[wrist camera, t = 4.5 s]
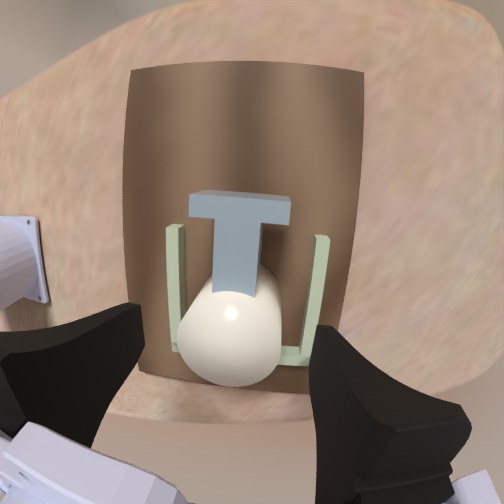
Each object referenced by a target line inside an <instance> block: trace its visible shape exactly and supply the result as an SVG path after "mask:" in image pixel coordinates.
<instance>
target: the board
mask: <svg viewBox="0 0 504 504" xmlns="http://www.w3.org/2000/svg"><path fill="white" fill-rule="evenodd" d="M363 123H364V73H363V72H358V71H352V70H346V69H340V68H333V67H326V66H318V65H309V64H298V63H285V62H267V61H215V62H196V63H183V64H173V65H164V66H156V67H149V68H142V69H136V70H131V75H130V82H129V90H128V99H127V109H126V120H125V134H124V151H123V236H124V254H125V268H126V280H127V290H128V299H129V303H135V304H141V312H142V321H143V330H144V338H145V347H144V349H143V351H142V354H141V356H140V358H139V360H138V366H139V371H142V372H146V373H151V374H155V375H160V376H165V377H170V378H175V379H181V380H186V381H192V382H198V383H204V384H211V385H218V384H215V383H212V382H209V381H207V380H205V379H203V378H202V377H200V376H199V375H197V374H196V373H195V372H193V371H192V370H191V369H190V368H189V367H188V365H187V364H186V363H185V362H184V360H183V358H182V357H181V354H180V353H179V352H173V351H172V345H171V333H170V321H169V306H168V288H167V264H166V227H168V226H170V225H172V224H182V225H185V230H184V253H185V302H186V312H187V311H188V309H189V308H190V306H191V305H192V303H193V302H194V300H195V299H196V297H197V295H198V294H199V292H200V291H201V289H202V288H203V286H204V285H205V283H206V282H207V280H208V278H209V277H210V275H211V274H212V273H213V247H214V225H215V219H212V218H199V217H189V194H192V193H196V192H199V191H203V190H219V191H234V192H247V193H260V194H271V195H282V196H289V198H290V200H291V209H290V219H289V225H280V224H270V223H264V224H263V236H262V248H261V260H260V264H261V265H263V266H265V267H266V268H267V269H269V270H270V271H271V272H272V273H273V275H274V276H275V277H276V279H277V280H278V282H279V285H280V288H281V294H282V331H281V346H293V347H299V344H300V338H301V331H302V325H303V318H304V312H305V305H306V298H307V290H308V283H309V275H310V267H311V259H312V250H313V241H314V234H316V235H327V236H328V237H329V239H330V247H329V255H328V262H327V269H326V276H325V283H324V290H323V296H322V302H321V309H320V315H319V320H318V325H331V326H333V327H334V328H335V329H336V330H337V331H338V326H339V321H340V317H341V312H342V307H343V301H344V296H345V290H346V285H347V279H348V273H349V267H350V260H351V254H352V247H353V240H354V232H355V224H356V216H357V207H358V197H359V187H360V175H361V162H362V146H363ZM218 386H222V385H218ZM225 387H229V386H225ZM233 388H242V389H251V390H262V391H274V392H289V393H310V390H309V369H308V366H292V365H277V366H276V367H275V369H274V370H273V371H272V372H271V374H269V375H268V376H267V377H266V378H264V379H263V380H261V381H259V382H257V383H254V384H251V385H247V386H241V387H233Z"/></svg>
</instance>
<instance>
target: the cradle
mask: <svg viewBox="0 0 504 504" xmlns="http://www.w3.org/2000/svg"><path fill="white" fill-rule="evenodd" d="M184 230H185V225H182V224H172V225H170V226H168V227H166V264H167V288H168V306H169V321H170V333H171V345H172V351H173V352H179V349H178V346H177V331H178V327H179V324H180V322H181V321H182V319H183V317H184V316H185V314H186V302H185V253H184ZM329 247H330V239H329V237H328V236H327V235H316V234H314V241H313V250H312V259H311V267H310V275H309V283H308V290H307V298H306V305H305V312H304V318H303V325H302V331H301V338H300V344H299V347H293V346H281V355H280V359H279V362H278V364H277V365H292V366H309V361H310V356H311V351H312V346H313V341H314V336H315V331H316V325H318V320H319V315H320V309H321V302H322V296H323V290H324V283H325V276H326V269H327V262H328V255H329ZM179 353H180V352H179Z"/></svg>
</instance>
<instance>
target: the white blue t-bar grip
mask: <svg viewBox="0 0 504 504" xmlns="http://www.w3.org/2000/svg"><path fill="white" fill-rule="evenodd" d="M290 209H291V200H290V198H289V196H282V195H271V194H260V193H247V192H234V191H219V190H203V191H199V192H196V193H192V194H189V217H199V218H212V219H215V225H214V247H213V273H212V274H211V275H210V277H209V278H208V280H207V282H206V283H205V285H204V286H203V288H202V289H201V291H200V292H199V294H198V295H197V297H196V299H195V300H194V302H193V303H192V305H191V306H190V308H189V309H188V311H187V312H186V314H185V316H184V317H183V319H182V321H181V322H180V324H179V327H178V331H177V346H178V349H179V352H180V354H181V357H182V358H183V360H184V362H185V363H186V364H187V365H188V367H189V368H190V369H191V370H192V371H193V372H195V373H196V374H197V375H199V376H200V377H202V378H203V379H205V380H207V381H209V382H212V383H215V384H218V385H222V386H229V387H241V386H247V385H251V384H254V383H257V382H259V381H261V380H263V379H264V378H266V377H267V376H268V375H269V374H271V372H272V371H273V370H274V369H275V367H276V366H277V364H278V362H279V359H280V355H281V331H282V294H281V288H280V285H279V282H278V280H277V279H276V277H275V276H274V275H273V273H272V272H271V271H270V270H269V269H267V268H266V267H265V266H263V265H261V264H260V260H261V248H262V236H263V224H264V223H270V224H280V225H289V219H290Z"/></svg>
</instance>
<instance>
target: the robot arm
mask: <svg viewBox="0 0 504 504" xmlns="http://www.w3.org/2000/svg"><path fill="white" fill-rule="evenodd" d="M22 297H23V298H26V299H30V300H33V301H37V302H40V303H44V304H46V303H47V302H48V301H49V297H48V292H47V287H46V282H45V276H44V270H43V263H42V256H41V248H40V239H39V228H38V220H37V218H36V217H33V216H0V311H1V310H3V309H5V308H6V307H8V306H9V305H11V304H13V303H14V302H16V301H17V300H19V299H21V298H22ZM144 347H145V338H144V330H143V321H142V312H141V304H135V303H129V302H128V303H124V304H120V305H117V306H114V307H112V308H109V309H106V310H104V311H101V312H98V313H96V314H93V315H91V316H88V317H85V318H82V319H79V320H76V321H73V322H70V323H67V324H63V325H59V326H55V327H50V328H45V329H38V330H30V331H18V332H0V492H1V493H2V494H3V495H4V496H5V497H4V498H3V500H2V501H1V503H0V504H194V503H189V502H187V500H186V498H185V497H184V496H183V495H182V494H181V492H180V491H179V490H178V489H177V488H176V486H175V485H173V484H171V483H169V482H168V481H166V480H165V479H163V478H161V477H160V476H158V475H157V474H155V473H152V472H150V471H147V470H145V469H142V468H140V467H138V466H135V465H133V464H131V463H128V462H125V461H122V460H119V459H116V458H113V457H111V456H108V455H106V454H103V453H100V452H98V451H95V450H93V449H91V446H92V443H93V441H94V438H95V435H96V433H97V430H98V428H99V426H100V423H101V421H102V419H103V417H104V415H105V413H106V411H107V409H108V407H109V405H110V403H111V401H112V399H113V398H114V396H115V395H116V393H117V392H118V390H119V389H120V387H121V386H122V384H123V383H124V381H125V380H126V379H127V377H128V376H129V374H130V373H131V371H132V370H133V368H134V367H135V365H136V364H137V362H138V360H139V358H140V356H141V354H142V351H143V349H144ZM308 369H309V390H310V397H311V403H312V409H313V416H314V422H315V429H316V442H317V472H316V474H317V475H316V496H315V504H501V502H500V500H499V498H498V495H497V493H496V490H495V488H494V486H493V484H492V482H491V479H490V477H489V475H488V473H487V471H486V469H482V470H479V471H476V472H474V473H471V474H468V475H465V476H463V477H460V478H458V479H457V480H455V481H453V482H452V483H451V481H450V478H449V475H450V474H452V472H453V470H452V467H451V465H450V462H451V461H452V460H453V459H454V457H455V456H456V455H457V454H458V452H459V451H460V450H461V449H462V447H463V446H464V445H465V443H466V442H467V440H468V438H469V436H470V433H471V430H472V426H471V422H470V421H469V419H468V417H467V416H466V414H465V412H464V410H463V409H462V407H461V405H459V404H455V403H452V402H448V401H444V400H441V399H437V398H434V397H432V396H429V395H426V394H424V393H421V392H419V391H417V390H414V389H412V388H410V387H408V386H406V385H404V384H402V383H401V382H399V381H397V380H395V379H393V378H392V377H390V376H389V375H387V374H386V373H384V372H383V371H381V370H380V369H378V368H377V367H376V366H374V365H373V364H372V363H371V362H369V361H368V360H367V359H366V358H365V357H363V356H362V355H361V354H360V353H359V352H358V351H357V350H356V349H355V348H354V347H353V346H352V345H351V344H350V343H349V342H348V341H347V340H346V339H345V338H344V337H343V336H342V335H341V334H340V333H339V332H338V331H337V330H336V329H335V328H334V327H333V326H331V325H316V331H315V336H314V341H313V346H312V351H311V356H310V361H309V366H308Z"/></svg>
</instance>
